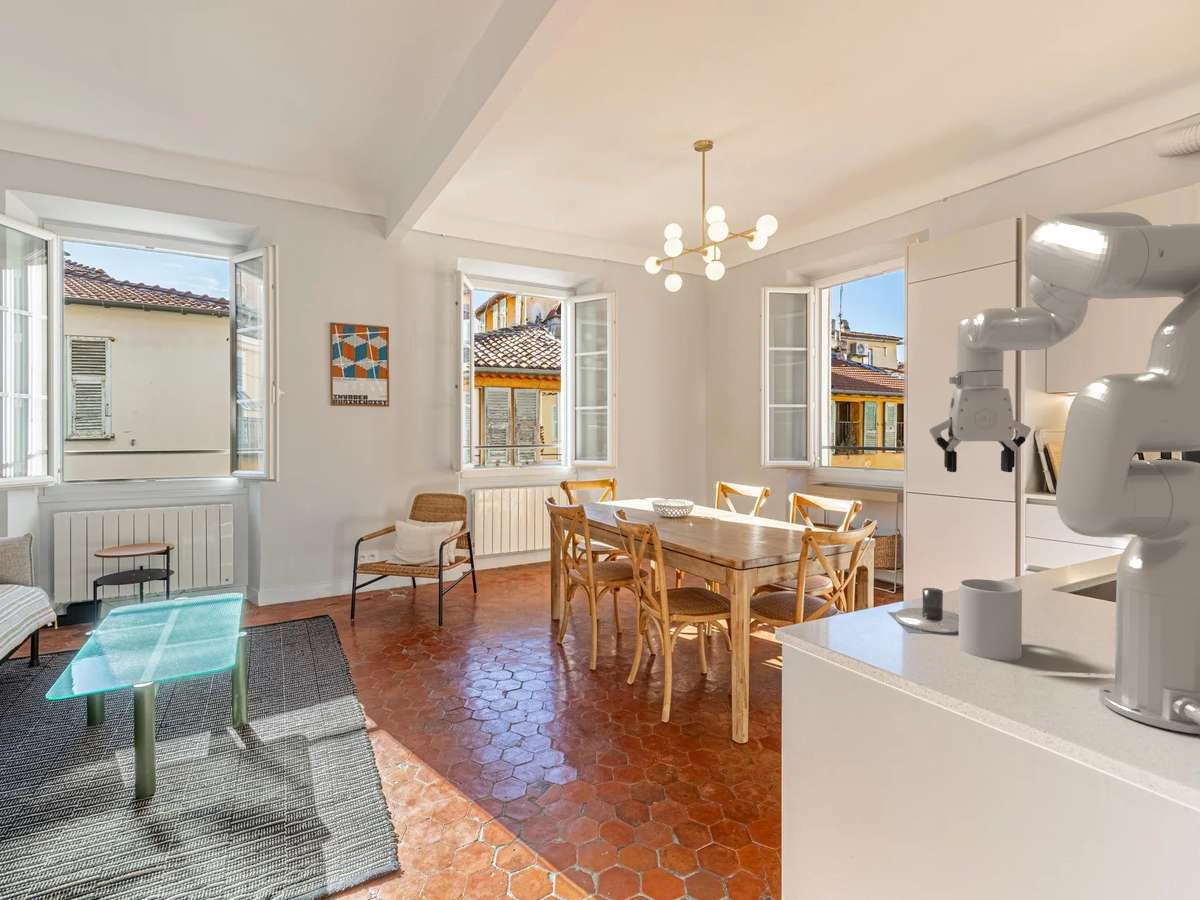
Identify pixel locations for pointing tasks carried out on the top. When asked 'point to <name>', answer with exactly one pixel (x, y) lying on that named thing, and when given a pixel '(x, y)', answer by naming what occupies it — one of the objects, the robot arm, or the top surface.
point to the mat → (909, 630)
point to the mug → (990, 619)
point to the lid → (930, 615)
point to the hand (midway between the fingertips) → (978, 471)
